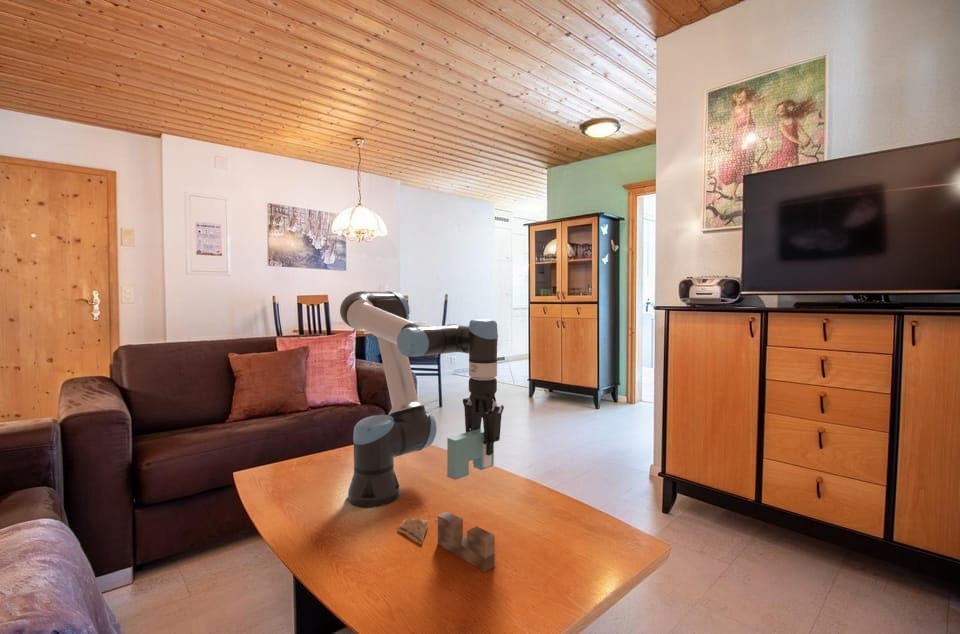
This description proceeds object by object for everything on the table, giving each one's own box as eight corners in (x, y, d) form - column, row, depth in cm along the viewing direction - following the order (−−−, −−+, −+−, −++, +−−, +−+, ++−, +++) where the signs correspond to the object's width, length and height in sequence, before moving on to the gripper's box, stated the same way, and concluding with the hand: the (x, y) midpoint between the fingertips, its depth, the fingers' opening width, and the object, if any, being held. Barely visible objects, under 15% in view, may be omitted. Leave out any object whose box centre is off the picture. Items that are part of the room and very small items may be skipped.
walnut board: (437, 543, 109) (437, 515, 109) (447, 539, 111) (447, 511, 111) (485, 571, 98) (485, 540, 97) (494, 566, 100) (494, 535, 99)
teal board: (455, 480, 112) (455, 440, 112) (447, 476, 114) (447, 437, 114) (493, 465, 122) (494, 429, 122) (485, 462, 124) (486, 426, 124)
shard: (422, 547, 108) (422, 540, 108) (390, 547, 108) (390, 539, 108) (429, 525, 119) (429, 518, 119) (401, 524, 119) (401, 518, 119)
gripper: (452, 375, 123) (451, 459, 124) (495, 383, 112) (494, 476, 113) (472, 372, 128) (471, 453, 129) (515, 379, 117) (513, 468, 118)
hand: (481, 464), depth 121 cm, fingers closed on teal board, 3 cm apart
